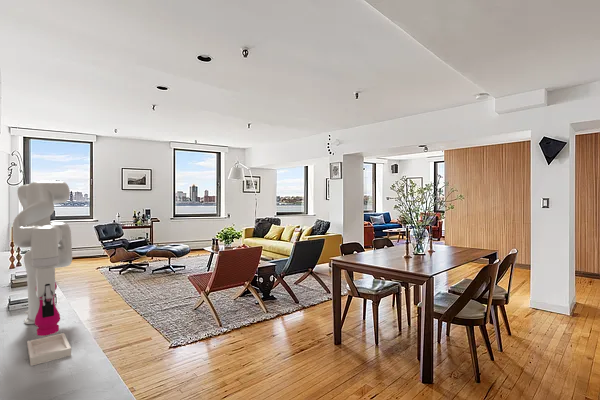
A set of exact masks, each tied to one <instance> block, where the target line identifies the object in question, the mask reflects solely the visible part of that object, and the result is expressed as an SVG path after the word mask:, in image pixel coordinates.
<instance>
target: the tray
mask: <svg viewBox="0 0 600 400" xmlns="http://www.w3.org/2000/svg"><path fill="white" fill-rule="evenodd" d="M26 344H27V352H28V353H27V354H28V359H29V366H30V367H32V366H36V365H40V364H44V363H48V362H51V361H54V360H55V361H56V360H59V359H63V358H68V357H70V356H72V347H71V344H70V343H69V340H68V339H67V337H66V334H65V332H63V333H62V332H61V333H57V334H51V335H47V336H44V337H39V338H36V339H31V340H27V343H26Z"/></svg>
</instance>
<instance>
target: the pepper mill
mask: <svg viewBox="0 0 600 400" xmlns="http://www.w3.org/2000/svg"><path fill="white" fill-rule="evenodd" d="M57 285H58V283H57V282H56V281H55V291H56V290H57V288H58V286H57ZM36 291H37V290H36ZM52 293H53V292H52ZM52 295H53V294H52ZM44 296H46V295H44ZM54 297H55V298H56V293H55V294H54V295H53V304H54V316H50V317H45V318H43V317H42V306H43V298H42V296H41V297H40V298H38V299H39V301H40V306H39V310H38V313H37V315H36V317H35V324H34V325H35V326H36V327H37V329H36V335H37V336H39V337H43V336H44V337H47V336H51V335H55V334H56V333H57V332H59V330H60V325H59V324H58V323H59V322H60V321H61V315H60V312H59V310H58V308H57V307H56V302H55V303H54ZM45 299H46V298H45Z"/></svg>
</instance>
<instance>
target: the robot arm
mask: <svg viewBox="0 0 600 400" xmlns="http://www.w3.org/2000/svg"><path fill="white" fill-rule="evenodd" d="M70 196H71V195H70V187H69V184H67V182H65V181H61V180H57V181H55V180H52V181H51V180H50V181H49V180H40V181H38V180H36V181H33V182H32V181H31V182H30V183H29V184H23V185H20V186H18V188H17V197H18V199H19V202H20V204H21V207H22V208H23V210H21V211H20V212H19V213H18V214H17V215H16V216H15V217H14V219H13V223H12V241H13V244H14V245H15V246H16V247H18V248H31V249H30V250H28V251H26V252H25V254H24V255H23V262H24V263H23V264H24V266H25V267H24V269H25V271H26V282H27V305H28V307H27V308H28V309H27V310H25V311H24V314H25V315H27V317H26V318H25V319H24V324H26V325H35V317H36V315H37V313H38V310H39V306H40V301H39V299H38V298H40V297H41V296H42V298H43V306H42V317H43V318H45V317H50V316H54V304H53V295H54V294H55V295H56V290H55V282H56V269H58V268H65V267H69V266H71V264H72V262H73V246H72V243H73V242H72V231H71V227H70V225H69V223H66V222H62V221H61V222H59V221H58V222H51V216H52V215H53V213H54V212H55V204H62V203H65V202H67V201H68V200H70ZM36 290H37V291H36ZM52 292H53V293H52ZM52 294H53V295H52ZM44 295H46V296H44ZM45 298H46V299H45ZM54 303H55V304H56V296H55V297H54Z"/></svg>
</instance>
